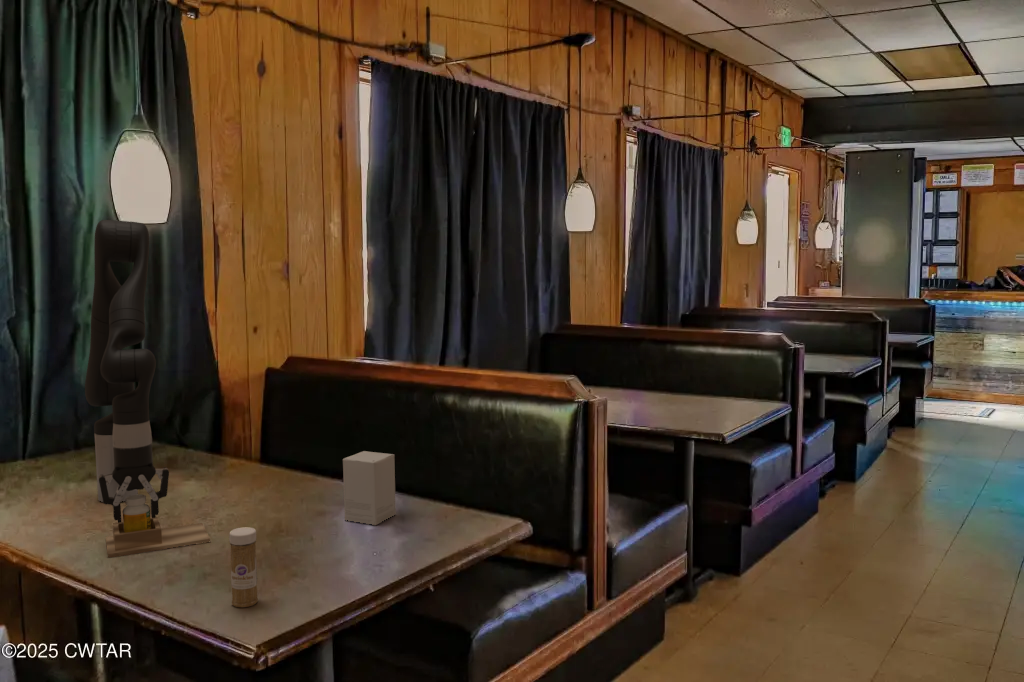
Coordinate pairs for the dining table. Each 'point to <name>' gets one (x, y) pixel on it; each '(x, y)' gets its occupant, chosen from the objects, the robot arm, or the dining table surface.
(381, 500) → the supplement box
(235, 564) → the sprinkles bottle
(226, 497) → the dining table surface
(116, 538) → the wooden stand
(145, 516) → the supplement bottle
